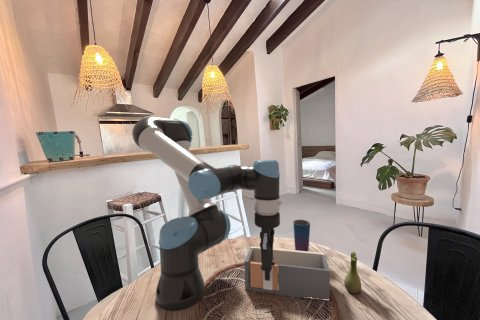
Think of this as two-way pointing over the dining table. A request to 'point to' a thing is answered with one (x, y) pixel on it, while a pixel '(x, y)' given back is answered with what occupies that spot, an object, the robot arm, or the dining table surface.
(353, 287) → the fennel bulb
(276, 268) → the box door
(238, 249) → the dining table surface
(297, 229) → the cup
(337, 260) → the dining table surface
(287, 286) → the storage box
